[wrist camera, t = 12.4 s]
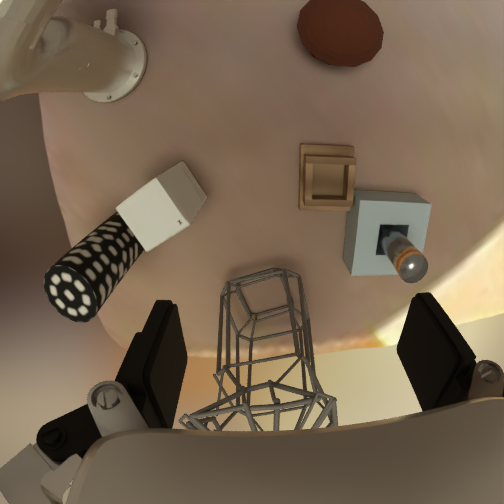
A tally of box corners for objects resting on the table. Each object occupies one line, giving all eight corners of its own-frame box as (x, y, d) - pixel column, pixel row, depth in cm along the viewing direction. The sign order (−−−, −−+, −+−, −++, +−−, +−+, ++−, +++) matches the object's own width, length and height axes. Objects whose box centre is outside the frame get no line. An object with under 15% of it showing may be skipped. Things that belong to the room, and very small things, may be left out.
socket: (349, 189, 46) (360, 200, 41) (414, 193, 46) (431, 203, 40) (342, 258, 51) (351, 275, 46) (404, 257, 51) (417, 274, 45)
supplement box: (183, 159, 45) (157, 175, 34) (209, 198, 48) (192, 226, 36) (147, 184, 47) (113, 207, 35) (172, 220, 50) (146, 254, 38)
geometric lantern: (298, 243, 51) (347, 440, 19) (315, 316, 57) (352, 491, 26) (208, 266, 53) (161, 459, 21) (236, 334, 59) (224, 506, 28)
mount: (299, 143, 44) (303, 146, 40) (351, 145, 43) (359, 148, 40) (298, 207, 48) (301, 215, 44) (347, 207, 48) (354, 216, 44)
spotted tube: (158, 238, 51) (109, 306, 33) (127, 262, 53) (76, 331, 35) (128, 200, 48) (63, 252, 30) (98, 228, 50) (34, 284, 32)
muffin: (344, -2, 33) (363, -25, 24) (381, 57, 37) (408, 46, 28) (278, 24, 36) (282, 2, 27) (316, 84, 40) (330, 76, 31)
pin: (370, 215, 47) (403, 254, 34) (393, 216, 47) (431, 254, 34) (367, 239, 49) (397, 284, 36) (390, 239, 48) (424, 283, 36)
